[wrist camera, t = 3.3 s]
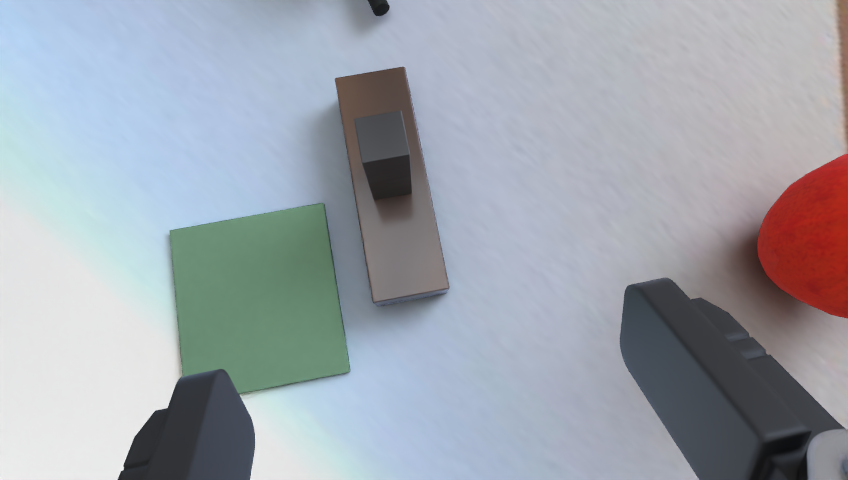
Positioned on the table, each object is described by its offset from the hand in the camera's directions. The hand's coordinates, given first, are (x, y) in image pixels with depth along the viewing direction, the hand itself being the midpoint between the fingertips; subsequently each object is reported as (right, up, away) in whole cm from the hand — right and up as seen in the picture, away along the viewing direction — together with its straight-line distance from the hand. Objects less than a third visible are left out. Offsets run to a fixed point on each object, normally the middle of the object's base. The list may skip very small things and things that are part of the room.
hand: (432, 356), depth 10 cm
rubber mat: (-12, -2, +25) cm, 28 cm away
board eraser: (-3, +6, +27) cm, 27 cm away
